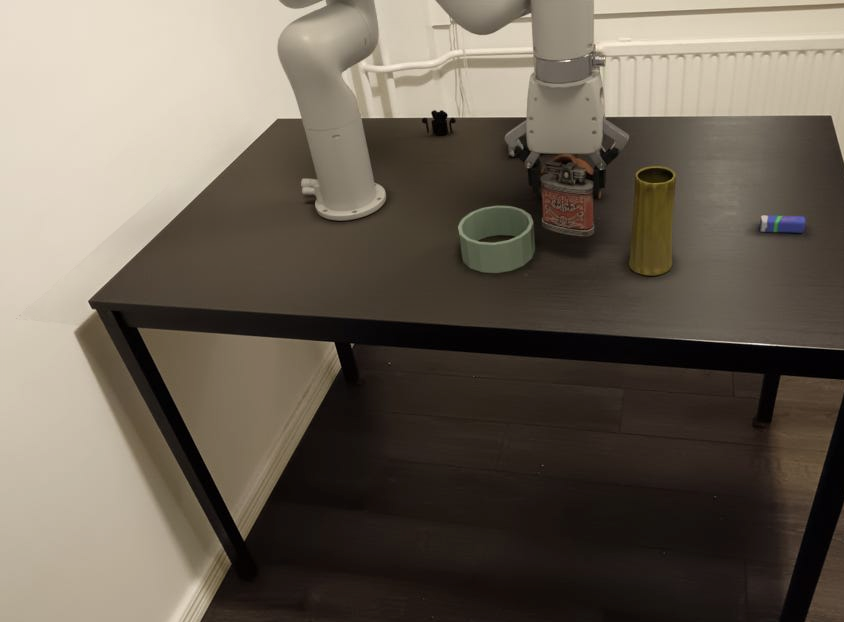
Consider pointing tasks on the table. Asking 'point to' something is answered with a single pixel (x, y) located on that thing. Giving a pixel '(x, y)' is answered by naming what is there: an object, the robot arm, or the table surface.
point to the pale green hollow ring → (497, 253)
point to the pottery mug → (574, 159)
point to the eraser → (782, 224)
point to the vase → (652, 221)
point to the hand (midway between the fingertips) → (567, 190)
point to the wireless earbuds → (439, 123)
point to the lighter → (567, 199)
